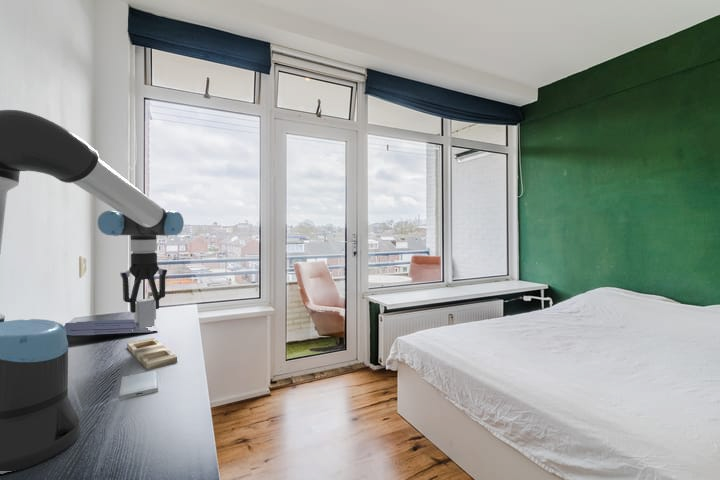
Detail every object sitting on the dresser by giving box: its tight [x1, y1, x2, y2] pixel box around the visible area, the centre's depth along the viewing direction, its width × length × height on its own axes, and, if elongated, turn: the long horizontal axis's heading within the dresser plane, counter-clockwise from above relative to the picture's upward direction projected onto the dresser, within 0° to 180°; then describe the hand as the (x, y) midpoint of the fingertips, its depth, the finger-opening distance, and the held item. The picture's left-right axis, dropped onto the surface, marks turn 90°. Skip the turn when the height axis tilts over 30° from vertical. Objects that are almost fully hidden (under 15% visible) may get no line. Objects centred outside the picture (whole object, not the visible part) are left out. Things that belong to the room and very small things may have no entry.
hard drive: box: [118, 370, 159, 401], centre depth 88 cm, size 2×8×12 cm
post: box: [136, 297, 155, 329], centre depth 114 cm, size 4×4×9 cm
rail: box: [126, 337, 178, 370], centre depth 109 cm, size 26×8×2 cm, turn 46°
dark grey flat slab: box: [63, 319, 154, 337], centre depth 135 cm, size 24×30×4 cm
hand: (145, 320), depth 114 cm, fingers closed on post, 4 cm apart
